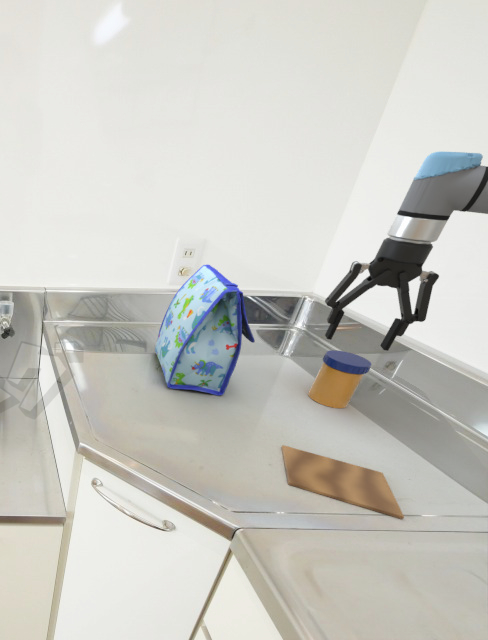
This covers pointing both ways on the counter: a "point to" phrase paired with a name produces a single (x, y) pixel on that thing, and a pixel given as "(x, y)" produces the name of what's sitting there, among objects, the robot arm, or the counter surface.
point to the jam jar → (334, 387)
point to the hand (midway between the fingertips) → (355, 342)
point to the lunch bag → (203, 333)
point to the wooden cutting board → (340, 481)
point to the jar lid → (347, 362)
